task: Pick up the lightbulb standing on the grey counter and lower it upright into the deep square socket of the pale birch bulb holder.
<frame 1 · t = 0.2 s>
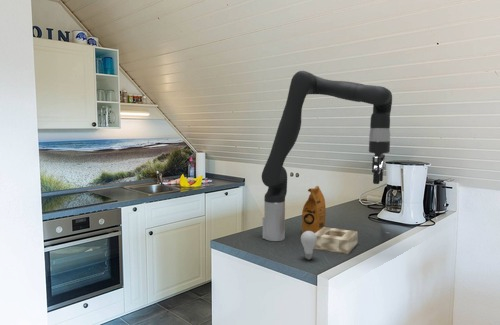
hand: (377, 182, 141), 29 cm above the countertop, fingers open, 8 cm apart
coffee package: (313, 233, 176), on the countertop
lightbulb: (308, 260, 139), on the countertop
bulb holder: (335, 246, 155), on the countertop
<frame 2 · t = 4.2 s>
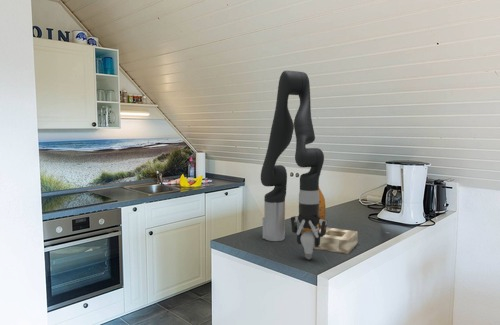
hand: (308, 245, 138), 6 cm above the countertop, fingers closed on lightbulb, 6 cm apart
lightbulb: (308, 259, 139), on the countertop, touching gripper
everything else where it was.
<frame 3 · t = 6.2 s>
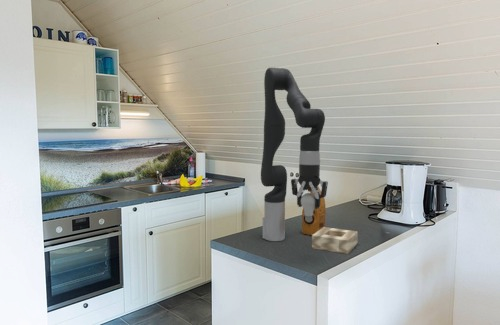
hand: (308, 207, 137), 20 cm above the countertop, fingers closed on lightbulb, 6 cm apart
lightbulb: (308, 222, 138), point 14 cm above the countertop, touching gripper
everything else where it was.
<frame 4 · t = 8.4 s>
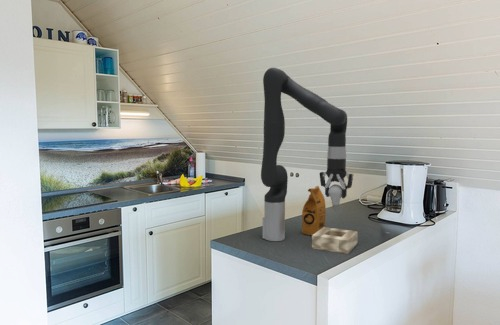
hand: (335, 197, 153), 21 cm above the countertop, fingers closed on lightbulb, 6 cm apart
lightbulb: (335, 210, 154), point 15 cm above the countertop, touching gripper
everything else where it was.
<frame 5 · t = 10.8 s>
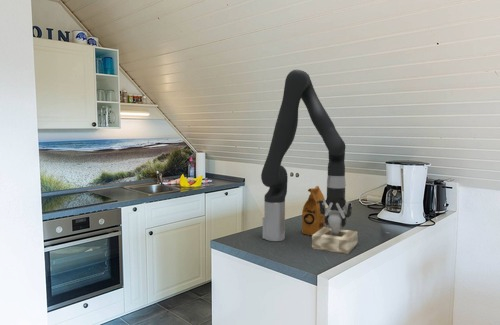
hand: (335, 225, 154), 9 cm above the countertop, fingers closed on lightbulb, 6 cm apart
lightbulb: (335, 238, 155), point 3 cm above the countertop, touching gripper
everything else where it was.
when the fingers open (7 cm above the countertop, at t = 12.8 s): lightbulb stays where it is, resting on bulb holder.
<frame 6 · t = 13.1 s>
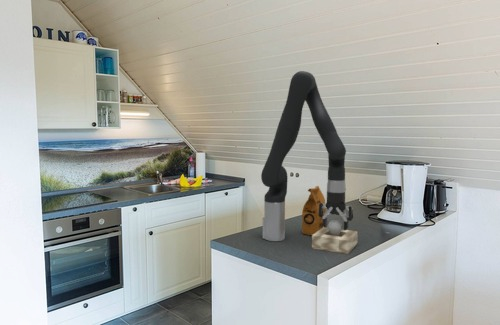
hand: (335, 228, 154), 8 cm above the countertop, fingers open, 8 cm apart
lightbulb: (335, 245, 155), resting on bulb holder
everything else where it was.
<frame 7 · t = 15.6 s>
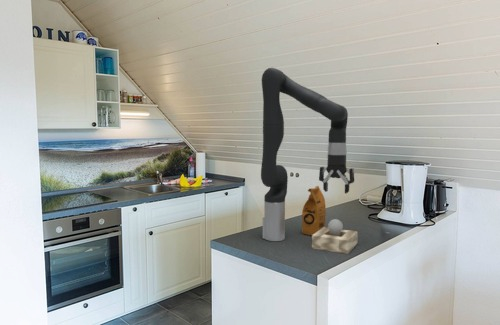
hand: (336, 192, 153), 23 cm above the countertop, fingers open, 8 cm apart
nothing on the countertop moved.
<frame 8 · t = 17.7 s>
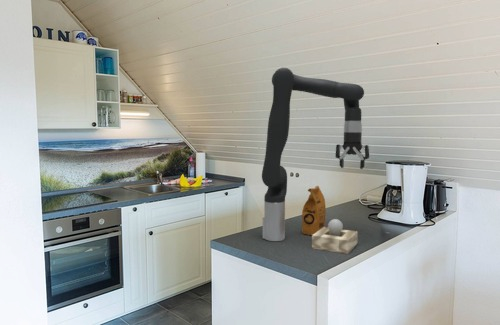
hand: (351, 168, 162), 32 cm above the countertop, fingers open, 8 cm apart
nothing on the countertop moved.
at the end: lightbulb 0.3 cm off-centre on the bulb holder, point 0.3 cm above the bulb holder's base; lightbulb tilted 0°; the gripper is holding nothing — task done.
